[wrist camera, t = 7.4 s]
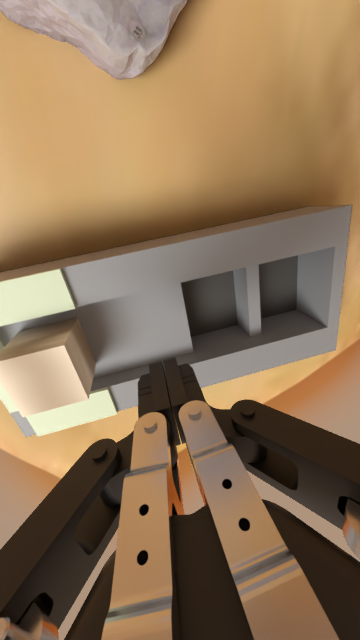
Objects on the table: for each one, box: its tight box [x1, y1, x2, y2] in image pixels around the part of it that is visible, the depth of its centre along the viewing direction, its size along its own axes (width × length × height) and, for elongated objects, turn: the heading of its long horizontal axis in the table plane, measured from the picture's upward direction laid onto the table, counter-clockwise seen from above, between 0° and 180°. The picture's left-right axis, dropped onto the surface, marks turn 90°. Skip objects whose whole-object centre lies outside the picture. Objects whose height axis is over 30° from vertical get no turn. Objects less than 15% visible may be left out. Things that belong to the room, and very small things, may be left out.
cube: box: [0, 318, 96, 417], centre depth 16 cm, size 4×4×4 cm
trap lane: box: [0, 205, 352, 437], centre depth 19 cm, size 26×12×5 cm, turn 101°
